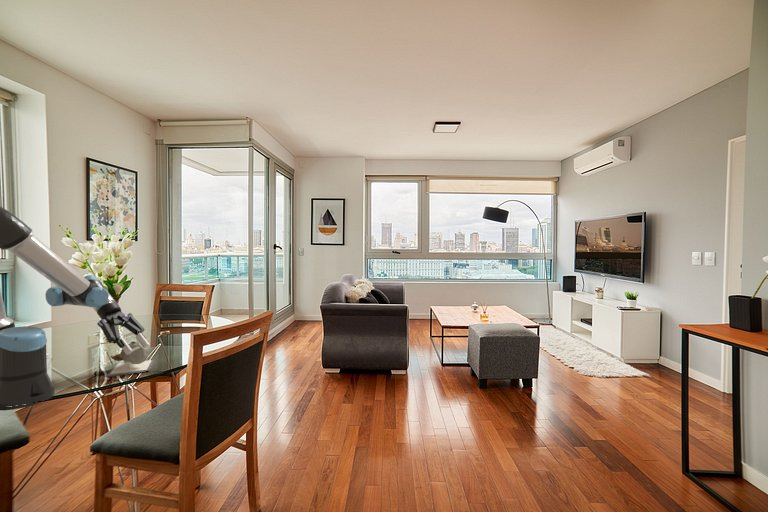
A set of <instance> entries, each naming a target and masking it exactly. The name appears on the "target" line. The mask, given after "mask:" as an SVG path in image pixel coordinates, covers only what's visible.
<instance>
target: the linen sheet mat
mask: <svg viewBox="0 0 768 512" xmlns="http://www.w3.org/2000/svg"><path fill="white" fill-rule="evenodd" d="M154 363H155V359H150V360H149V359H148V360H147V359H146V360H145V361H144V362H142V363H140V364H132V363H131V362H127V361H126V362H118V363H115V364H114V365H113V367H112V368H111V369H110V370H109V371H108V373H107V374H106V375H105V377H107V378H108V377H118V376H126V375H134V373H137V374H141V373H140V372H143V371H144V370H147V369H148V368H151V369H152V367H153V366H154ZM151 366H152V367H151Z"/></svg>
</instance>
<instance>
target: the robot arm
mask: <svg viewBox="0 0 768 512" xmlns="http://www.w3.org/2000/svg"><path fill="white" fill-rule="evenodd" d="M33 233H34V231H33V229H32V228H31V227H29V226H28V225H27V224H26V222H24V221H22V220H21V219H20V218H19V217H17V216H16V215H15V214H13V213H12V212H11V211H9V210H7V209H6V208H4V207H2V206H0V250H4V251H9V252H11V253H12V254H13V255H15V256H16V257H17V258H19V259H20V260H21V261H23V262H24V263H26V264H27V265H28V266H29V267H31V268H32V269H33V270H35V271H36V272H38V273H39V275H42V276H43V277H44V278H46V280H49V282H51V283H53V285H55V286H52V287H49V288H48V289H46V292H45V293H44V294H45V295H44V296H45V300H46V303H47V304H48V305H49V306H51V307H59V306H60V307H62V306H65V305H70V306H71V305H72V306H79V307H87V308H88V307H89V308H92V309H93V310H94V312H96V314H97V315H98V317H99V318H100V319H99V321H98V322H97V323H96V325H97V326H98V327H100V329H101V331H102V332H103V334H104V336H105V337H106V340H107V342H109V343H113V344H114V345H115V344H116V345H117V346H118V347H119V348H120V349H121V350H122V349H123V350H124V352H125V353H126V354H127V355H128V354H129V353H130V352H131V351H132V349H131V348H130V346H129V345H128V344H129V343H127V341H126V340H125V338H124V337H121V335H120V331H119V327H118V326H120V327H122V328H125V329H126V330H128V331H129V332H130V333H132V334H134V335H135V339H136V340H137V341H138V342H139V345H140V346H141V347H144V348H146V349H147V348H148V347H149V346H150V343H149V342H148V340H147V337H146V336H145V334H144V333H143V332H145V327H144V326H143V325H142V324H141V323H140V322H139V321H138V320H137V319H136V318H135V317H134V316H133V313H131V312H128V314H125V313H124V312H122V308H121V307H120V305H119V304H118V303H117V302H116V300H115V299H114V298H113V296H112V295H111V293H109V291H108V290H107V288H106V287H105V286H104V284H103V283H102V281H101V280H100V279H99V277H97V276H95V275H93V274H87V275H85V276H83V275H82V273H80V272H78V271H77V270H76V269H75V268H74V267H72V266H71V265H70V264H69V263H68V262H66V261H65V260H64V259H63V258H61V257H60V256H59V255H58V254H57V253H55V252H54V251H53V250H52V249H51V248H50V247H48V246H47V245H46V244H44V243H43V242H42V241H41V240H40V239H39V238H37V237H36V236H35V235H33ZM47 340H48V339H47V336H46V332H45V330H44V329H42V328H40V327H38V326H26V325H25V326H16V324H15V321H14V319H12V318H10V317H8V316H7V314H6V308H5V303H4V299H3V295H2V289H1V288H0V411H10V410H11V411H12V410H17V409H23V408H27V407H32V406H35V405H38V404H41V403H44V402H45V400H46V401H47V400H50V399H51V398H53V397H54V396H55V393H56V392H55V385H54V384H53V381H52V380H51V377H50V376H49V374H48V368H47V366H48V365H47V363H48V360H47V359H48V358H47V342H48V341H47ZM38 401H42V402H38ZM33 402H37V403H33ZM28 403H29V404H28ZM22 404H26V405H22ZM15 405H18V406H15ZM4 406H12V407H4Z"/></svg>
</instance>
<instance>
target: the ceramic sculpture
mask: <svg viewBox="0 0 768 512" xmlns="http://www.w3.org/2000/svg"><path fill="white" fill-rule="evenodd" d="M127 344H128V345H129V346H130V348H131V349H132V351H131V352H130V353H129V354H128V355H127V354H126V353H125V352H124V350H123V349H122V348H121V351H120V352H119V354H115V355H110V357H111V359H112V360H114V361H116V362H123V361H125V362H126V363H127V362H131V363H132V364H140V363H142V362H144V361H147V359H148V358H149V351H148V349H147V348H144V347H143V346H142V345H141V344H140V343H138V342H136V341H133V340H132V341H131V342H130V343H127Z"/></svg>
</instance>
